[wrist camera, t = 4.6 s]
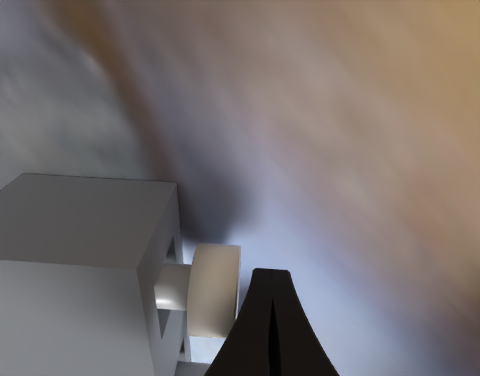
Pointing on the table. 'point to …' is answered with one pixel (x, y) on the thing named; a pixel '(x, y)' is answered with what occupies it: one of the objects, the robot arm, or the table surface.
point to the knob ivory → (203, 289)
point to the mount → (88, 277)
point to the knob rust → (191, 368)
